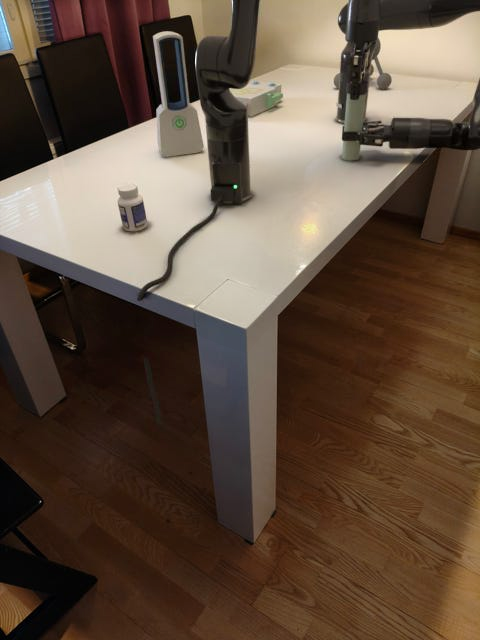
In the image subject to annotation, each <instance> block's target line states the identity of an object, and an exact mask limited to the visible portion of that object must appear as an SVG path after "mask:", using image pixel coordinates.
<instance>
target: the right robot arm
mask: <svg viewBox="0 0 480 640" xmlns="http://www.w3.org/2000/svg"><path fill="white" fill-rule="evenodd" d="M347 9H348V2H347V3H346V4H345V5H344V6H343V7H342V8H341V9H340V11H339V13H338V17H337V25H338V28H339V30H340V31H341V33H342V34H344V35H346V22H347ZM477 12H478V13H479V12H480V0H381V14H380V23H379V32H381V31H410V30H411V31H412V30H425V29H433V28H440V27H443V26H444V27H445V26H446V25H449V24H451V23H453V22H455V21H457V20H459V19H461V18H462V17H464V16H466V15H468V14H469V15H470V14H472V13H477ZM376 41H377V40H376ZM376 41H375V42H370V43H367V46H369V49H370V50H369V57H368V65H367V68H366V69H367V70H366V73H365V77H363V78H364V80H365V81H368V88H367V93H366V98H365V107H364V117H363V127H362V131H359V132H358V133H357V132H345V131H344V125H343V126H342V130H341V141H342V142H343V141H356V140H357V142H358V143H359V144H360V145H361V146H370V147H379V148H381V147H383V145H384V143H388V147H389V149H392V150H396V149H399V150H419V149H420V150H421V149H450V150H459V151H476V150H479V149H480V77H479V78H478V82H477V84H476V87H475V91H474V95H473V97H472V106H473V108H472V111H471V115H470V117H469V121H467V122H465V121H463V122H460V121H458V122H457V121H453V120H451V119H448V118H426V117H393V118H392V119H391V121H390V125H388V124H384V123H383V122H382V120H373V121H366V120H367V108H368V98H369V90H370V80H371V76H370V71H371V64H372V61H373V60H372V55H373V52H374V50H375V47H376ZM354 46H355V44H354V43H350V42H347V41H346V45H345V46H344V48H343V49H342V51H341V54H340V64H339V65H340V66H339V73H340V79H339V88H338V93H337V97H338V98H337V102H336V107H337V108H336V118H335V120H336V122H337V123H341V124H345V112H346V100H347V93H346V88H347V82H348V81H350V80H349V78H350V63H351V60H350V56H351V51H353V49H354ZM354 76H355V75H354Z"/></svg>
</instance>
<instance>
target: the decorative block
mask: <svg viewBox="0 0 480 640" xmlns="http://www.w3.org/2000/svg"><path fill="white" fill-rule="evenodd" d="M230 91H231V93H232V94H233V96H234V97H235V98H237V99H238V100H239V101H241V102H242V103H243V104H245V105H246V107H247V110H248V117H250V118H251V117H252V118H253V117H254V116H256V115H258V114H260V113H263V112H265V111H268V110H270V109H272V108H274V107H276V106H277V104H278V103H280V102H282V99H284V93H282V83H281V84H280V83H275V82H261V81H257V80H254V81H253V82H251V83H248V84H247V86H245V87H244V88H242V89H232V88H230Z"/></svg>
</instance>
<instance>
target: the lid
mask: <svg viewBox="0 0 480 640" xmlns="http://www.w3.org/2000/svg"><path fill="white" fill-rule="evenodd" d="M367 88H368V81H365V80H362V82H361V85H360V95H361V94H365V93H367ZM350 91H351V83H350V81H348V82H347V88H346V93H348V94H350Z"/></svg>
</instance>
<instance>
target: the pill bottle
mask: <svg viewBox="0 0 480 640" xmlns="http://www.w3.org/2000/svg"><path fill="white" fill-rule="evenodd" d="M117 193H118V196H119V197H118V199H117V206H118V210H119V211H118V212H119V215H120V219H121V224H122V227H123V229H124V230H125V231H128V232H138V231H141V230H144V229H146V227H147V226H148V217H147V214H146V208H145V203H144V198H143V196H142V195H141V194H139V188H138V185H137V184H135V183H132V182H131V183H123V184H121V185H119V186H118V187H117Z"/></svg>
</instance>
